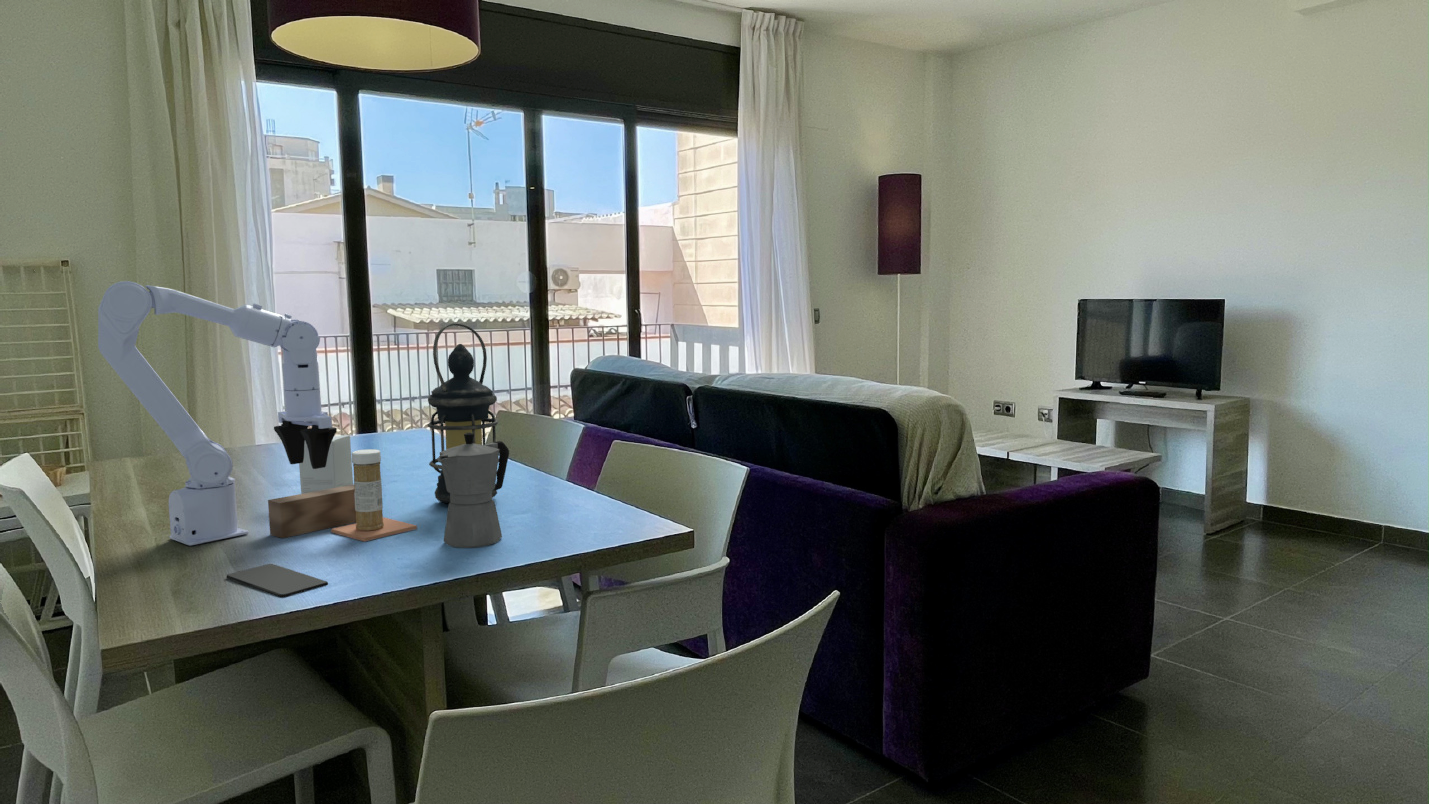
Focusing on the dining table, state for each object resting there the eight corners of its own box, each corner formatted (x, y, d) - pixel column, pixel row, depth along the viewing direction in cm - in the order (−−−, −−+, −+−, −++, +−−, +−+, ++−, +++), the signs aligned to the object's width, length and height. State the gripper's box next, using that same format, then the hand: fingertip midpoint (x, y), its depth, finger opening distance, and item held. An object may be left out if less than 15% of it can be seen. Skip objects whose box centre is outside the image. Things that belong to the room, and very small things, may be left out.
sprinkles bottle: (366, 524, 154) (363, 448, 153) (389, 525, 153) (386, 449, 152) (349, 530, 150) (345, 452, 149) (373, 532, 149) (369, 453, 147)
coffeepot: (464, 554, 138) (460, 440, 136) (421, 546, 142) (416, 436, 140) (531, 532, 151) (527, 427, 149) (489, 525, 156) (486, 424, 154)
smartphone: (282, 595, 118) (224, 574, 126) (282, 601, 118) (224, 580, 127) (330, 581, 124) (271, 562, 132) (330, 587, 124) (271, 568, 132)
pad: (364, 541, 146) (364, 537, 146) (331, 532, 152) (331, 528, 152) (417, 528, 154) (416, 525, 153) (383, 520, 160) (383, 517, 159)
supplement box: (355, 496, 180) (351, 434, 178) (336, 504, 172) (332, 440, 171) (320, 495, 180) (316, 434, 179) (300, 504, 173) (296, 440, 172)
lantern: (467, 513, 165) (460, 324, 161) (414, 506, 170) (405, 323, 166) (516, 497, 177) (510, 322, 173) (464, 492, 183) (458, 322, 179)
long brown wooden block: (282, 538, 148) (279, 503, 147) (269, 534, 150) (266, 499, 150) (379, 517, 162) (377, 484, 161) (365, 513, 165) (364, 482, 164)
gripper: (346, 389, 154) (351, 466, 156) (302, 385, 163) (308, 458, 164) (306, 393, 148) (312, 473, 150) (264, 388, 157) (270, 464, 159)
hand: (307, 465), depth 157 cm, fingers open, 7 cm apart
